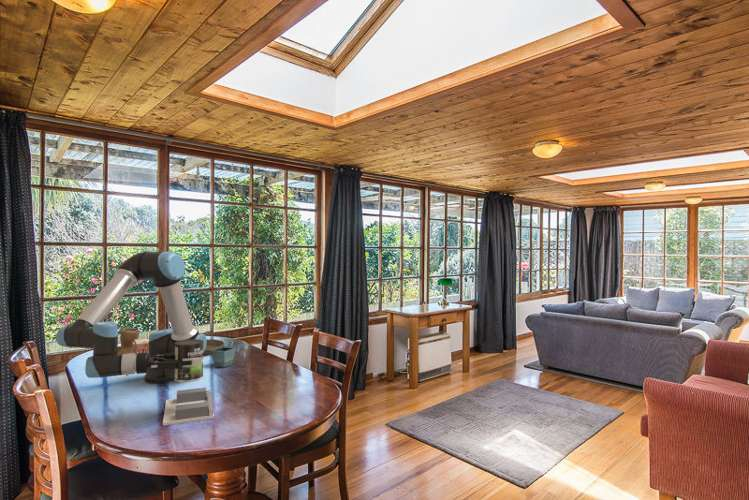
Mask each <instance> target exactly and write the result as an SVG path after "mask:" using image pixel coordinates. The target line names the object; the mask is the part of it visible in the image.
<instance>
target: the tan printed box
mask: <svg viewBox="0 0 749 500" xmlns="http://www.w3.org/2000/svg"><path fill="white" fill-rule="evenodd" d="M148 342H149V338H138V339H136V340H134V342H132V348H133V353H135V354H136V355H137V354H138V353H145V352H147V353H148V354H149V343H148Z"/></svg>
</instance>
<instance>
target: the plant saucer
mask: <svg viewBox="0 0 749 500" xmlns="http://www.w3.org/2000/svg"><path fill="white" fill-rule="evenodd" d="M206 339H207V344H206V348H205V351H204V353H203V357H206V356H212V351H211V350H214V349H217V348H221V347H225V345H226V344H225V341H223V340H220V339H212V338H206Z"/></svg>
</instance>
